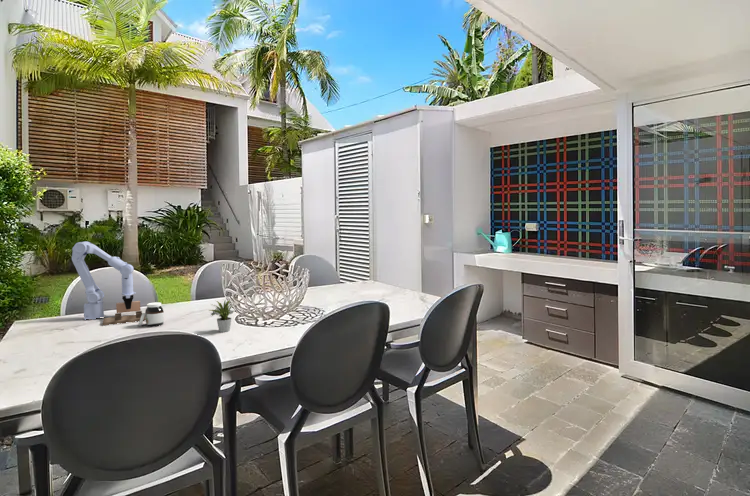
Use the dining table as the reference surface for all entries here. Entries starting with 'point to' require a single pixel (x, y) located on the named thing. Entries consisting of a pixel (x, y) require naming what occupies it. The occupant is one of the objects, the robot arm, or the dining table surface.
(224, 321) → the house plant
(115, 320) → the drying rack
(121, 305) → the orange brown rectangular block
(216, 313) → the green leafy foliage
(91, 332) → the dining table surface
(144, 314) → the spread jar
